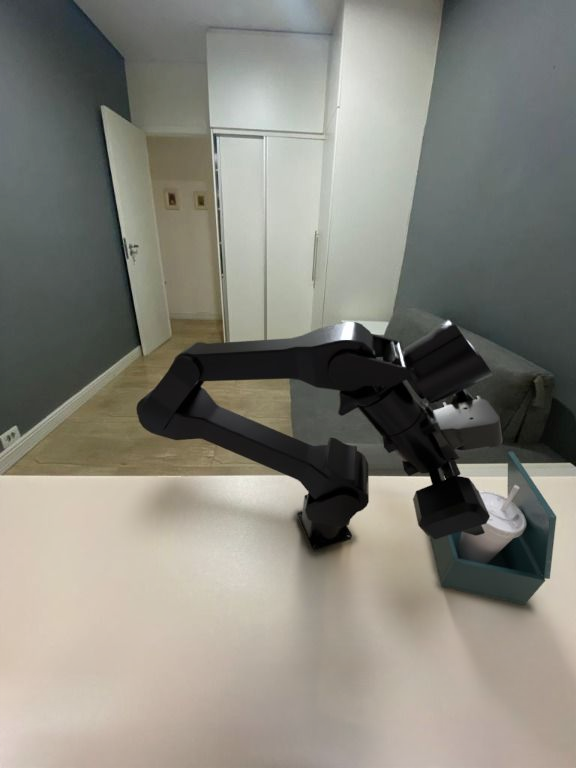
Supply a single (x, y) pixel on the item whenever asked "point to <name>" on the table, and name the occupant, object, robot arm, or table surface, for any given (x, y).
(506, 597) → the box
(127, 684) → the table surface
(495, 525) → the smoothie
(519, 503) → the box lid
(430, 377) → the robot arm
